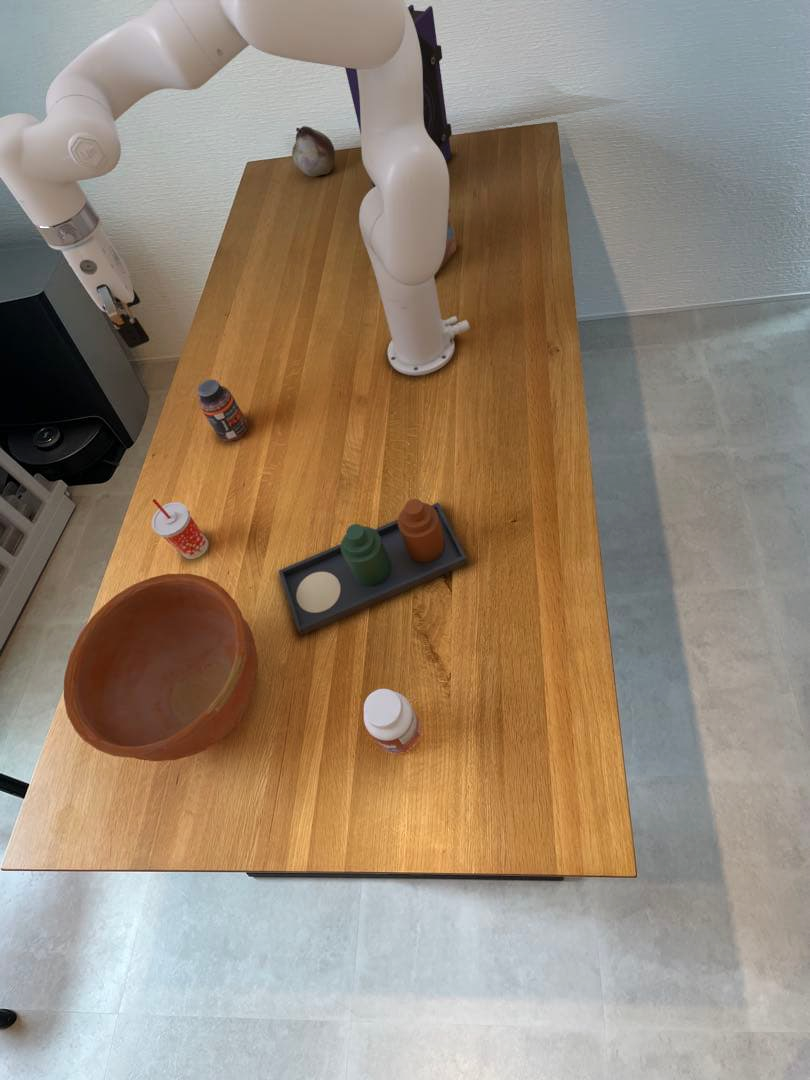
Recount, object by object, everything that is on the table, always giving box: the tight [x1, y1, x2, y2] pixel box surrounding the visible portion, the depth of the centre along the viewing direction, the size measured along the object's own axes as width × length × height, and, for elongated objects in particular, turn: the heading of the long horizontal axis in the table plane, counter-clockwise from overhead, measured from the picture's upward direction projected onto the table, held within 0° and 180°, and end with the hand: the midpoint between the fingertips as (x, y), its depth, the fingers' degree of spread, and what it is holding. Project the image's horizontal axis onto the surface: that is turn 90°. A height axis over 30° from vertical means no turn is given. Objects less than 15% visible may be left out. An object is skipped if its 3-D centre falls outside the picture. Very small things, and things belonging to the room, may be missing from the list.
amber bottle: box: [397, 498, 445, 563], centre depth 100 cm, size 6×6×11 cm
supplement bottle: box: [196, 378, 248, 442], centre depth 121 cm, size 6×6×11 cm
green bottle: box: [340, 523, 391, 586], centre depth 100 cm, size 6×6×11 cm
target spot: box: [296, 572, 341, 613], centre depth 104 cm, size 7×7×1 cm
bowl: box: [63, 573, 259, 762], centre depth 93 cm, size 25×25×15 cm
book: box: [344, 4, 453, 188], centre depth 143 cm, size 24×6×30 cm, turn 147°
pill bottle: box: [363, 688, 422, 755], centre depth 87 cm, size 6×6×11 cm
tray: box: [278, 502, 469, 637], centre depth 104 cm, size 27×11×2 cm, turn 111°
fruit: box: [291, 125, 336, 178], centre depth 161 cm, size 10×9×12 cm
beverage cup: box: [151, 498, 209, 560], centre depth 108 cm, size 6×6×14 cm
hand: (135, 324), depth 103 cm, fingers open, 9 cm apart
